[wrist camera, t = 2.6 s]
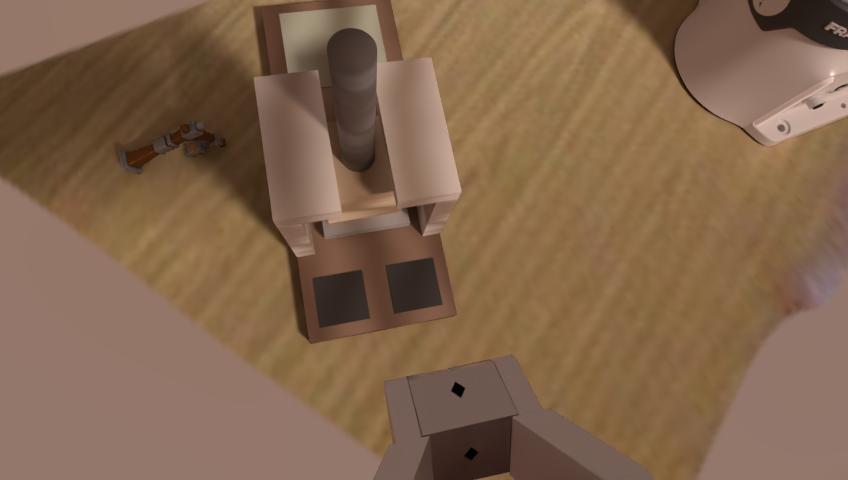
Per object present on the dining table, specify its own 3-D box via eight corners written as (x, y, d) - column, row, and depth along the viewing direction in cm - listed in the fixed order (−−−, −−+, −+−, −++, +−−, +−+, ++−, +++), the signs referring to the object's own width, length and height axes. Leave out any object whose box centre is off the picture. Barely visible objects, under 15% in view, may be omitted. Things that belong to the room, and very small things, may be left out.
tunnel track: (388, 5, 49) (394, -105, 38) (453, 316, 42) (485, 297, 31) (264, 17, 47) (230, -95, 36) (311, 343, 40) (288, 335, 29)
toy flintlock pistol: (236, 147, 43) (198, 130, 39) (163, 181, 45) (119, 168, 41) (231, 129, 43) (193, 110, 39) (159, 163, 45) (116, 148, 41)
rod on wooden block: (391, 139, 44) (408, -27, 25) (409, 225, 42) (440, 115, 23) (311, 150, 43) (267, -15, 24) (325, 239, 41) (289, 135, 22)
